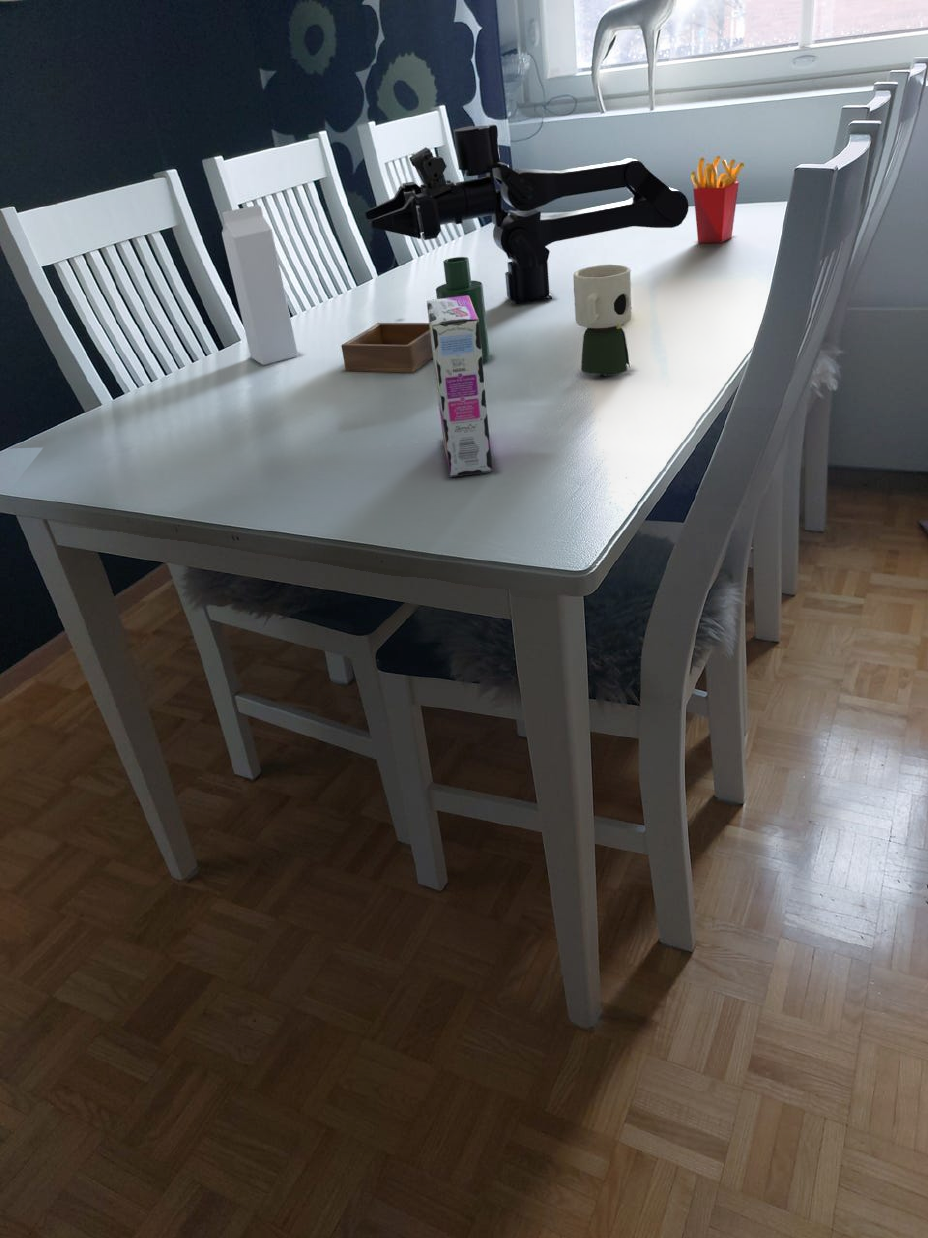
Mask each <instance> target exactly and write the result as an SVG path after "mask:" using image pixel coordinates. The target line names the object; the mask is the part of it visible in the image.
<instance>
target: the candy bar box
mask: <svg viewBox="0 0 928 1238" xmlns="http://www.w3.org/2000/svg"><path fill="white" fill-rule="evenodd" d="M426 307H427V318H428V323H429V327H430V335H431V344H432V352H433V358H432V359H433V360H432V361H433V368H434V377H435V382H436V383H435V384H436V393H437V394H436V395H437V401H438V402H437V403H438V409H439V416H440V424H441V431H442V432H441V433H442V440H443V446H444V450H445V457H446V461H447V467H448V475H449V477H452V478H454V477H463V476H470V475H477V474H480V475H481V474H487V473H491V472H493V470H494V469H493V462H492V450H491V449H492V448H491V440H490V428H489V417H488V404H487V393H486V384H485V374H484V373H485V372H484V364H483V361H482V350H481V340H480V330H479V319H478V317H477V315H476V313H475V310H474V308H473V305H472V302H471V300H470V297H469V296H457V297H448V298H441V299H437V298H436V299H429V300H426Z"/></svg>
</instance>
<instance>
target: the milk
mask: <svg viewBox="0 0 928 1238" xmlns="http://www.w3.org/2000/svg"><path fill="white" fill-rule="evenodd" d="M222 219H223V223H224V224H223V228H222V230H221V236H222V241H223V245H224V249H225V253H226V257H227V262H228V266H229V269H230V270H229V271H230V274H231V279H232V282H233V287H234V292H235V295H236V300H237V304H238V309H239V313H240V316H241V321H242V325H243V329H244V333H245V334H244V335H245V337H246V341H247V346H248V350H249V354H250V358H251V359H253V360H254V361H256V362H258V363H259V364H261V365H262V366H265V365H269V364H274V363H277V362H280V361H285V360H288V359H290V358H291V359H293V358H296V357H299V352H298V348H297V347H298V346H297V343H296V339H295V338H296V337H295V333H294V329H293V328H294V327H293V324H292V319H291V315H290V310H289V305H288V299H287V296H286V291H285V286H284V281H283V277H282V271H281V267H280V261H279V257H278V251H277V247H276V243H275V238H274V233H273V229H272V228H271V226H270V224H269V223H268V221H267V219H266V217H264V214H263V208H262V206H261V205H259V204H257V205H252V206H247V207H242V208H236V209H232V210H226V211H223V212H222Z"/></svg>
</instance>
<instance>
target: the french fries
mask: <svg viewBox="0 0 928 1238" xmlns="http://www.w3.org/2000/svg"><path fill="white" fill-rule="evenodd" d="M721 159H722V157H721V156H720V155H717V156H715V159H714V160H713V162H711V163H710V162H709V163H706V164H705V157H701V158H699V159H698V164H697V169H696V171H694V170H693V171H692V172H691V175H690V179H691V182H692V184H693V185H694V188H693V189H692V190H693V201H694V211H695V212H694V213H695V222H696V234H697V243H708V244H713V243H715V244H716V243H717V244H722V243H724V242H726V241H727V240H729V239H731V238H732V236H733V228H734V222H735V215H736V208H737V207H736V206H737V198H738V193H739V184H740V181H737V179H738V176H739V174H740V173H741V171H742V169H743V168H744V167H745V163H744V162H739V163H738V164H737V166H736V167H734V165H735V164H736V159H734V158H733V159H731V160H730V162H729V163H728V164H727V161H726V159H723V160H721ZM720 162H721V163H722V165H723V167H724V171H725V172H722V173H720V174H719V175H718V166H719V163H720ZM704 164H705V167H704ZM696 173H697V174H696Z"/></svg>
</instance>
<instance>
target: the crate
mask: <svg viewBox="0 0 928 1238" xmlns="http://www.w3.org/2000/svg"><path fill="white" fill-rule="evenodd" d="M340 347H341V351H342V357H343V362H344V369H345V371H349V372H379V373H380V372H381V373H409V374H410V373H414V372H416V371H417V370H418V369H420V368H421V367H422V366H424V365H425V364H426V363H428V362H429V361H431V360H432V359H433V352H432V344H431V335H430V327H429V322H377V323H376V324H374V325H372V326H370V327H368V329H366V330H364V331H363V332H361V333H359V334H357V335H356V336H354V337H353V338H351V339H349V340H347V341H346V342H344V343H343V344H341V345H340Z"/></svg>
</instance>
